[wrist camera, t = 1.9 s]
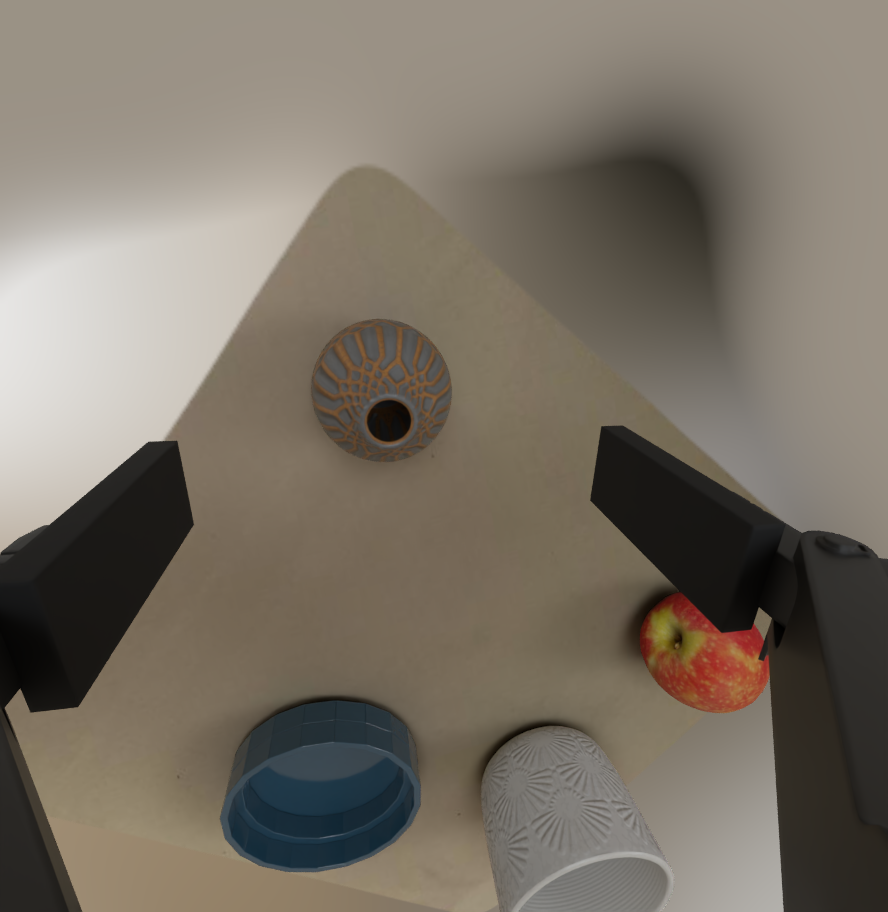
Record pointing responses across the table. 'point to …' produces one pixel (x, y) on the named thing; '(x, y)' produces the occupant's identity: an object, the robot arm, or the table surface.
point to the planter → (568, 830)
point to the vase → (381, 390)
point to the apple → (702, 658)
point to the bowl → (321, 787)
